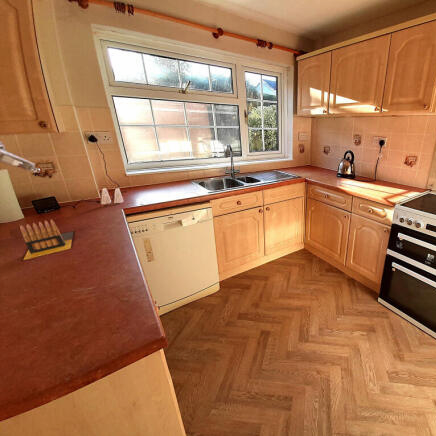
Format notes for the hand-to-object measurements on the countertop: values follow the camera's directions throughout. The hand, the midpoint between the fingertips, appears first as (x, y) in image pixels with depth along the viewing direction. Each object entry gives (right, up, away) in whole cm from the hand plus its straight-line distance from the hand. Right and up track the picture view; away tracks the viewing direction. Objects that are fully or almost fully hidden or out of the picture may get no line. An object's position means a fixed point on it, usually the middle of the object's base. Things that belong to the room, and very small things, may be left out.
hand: (29, 168), depth 90 cm
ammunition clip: (-4, -31, +11) cm, 33 cm away
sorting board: (-7, -31, +15) cm, 35 cm away
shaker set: (-20, -9, +69) cm, 73 cm away
